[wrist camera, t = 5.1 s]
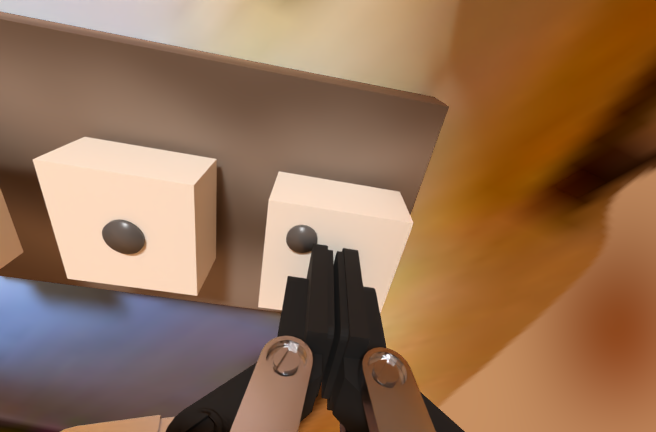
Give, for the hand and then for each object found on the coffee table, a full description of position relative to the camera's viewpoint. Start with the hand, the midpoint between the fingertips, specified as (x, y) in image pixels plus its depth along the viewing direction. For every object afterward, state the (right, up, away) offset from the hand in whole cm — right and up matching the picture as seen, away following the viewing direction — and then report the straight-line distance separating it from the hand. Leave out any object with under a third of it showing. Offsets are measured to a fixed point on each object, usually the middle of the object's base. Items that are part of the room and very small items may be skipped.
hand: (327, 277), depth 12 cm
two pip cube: (0, +2, +2) cm, 3 cm away
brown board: (-7, +4, +4) cm, 9 cm away
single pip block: (-7, +3, +2) cm, 8 cm away
